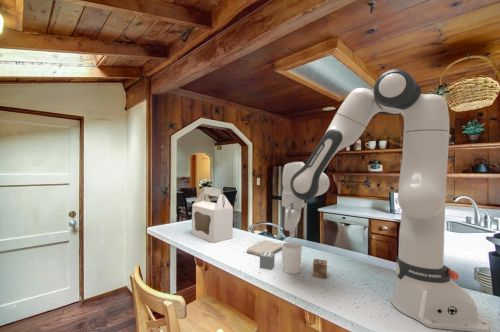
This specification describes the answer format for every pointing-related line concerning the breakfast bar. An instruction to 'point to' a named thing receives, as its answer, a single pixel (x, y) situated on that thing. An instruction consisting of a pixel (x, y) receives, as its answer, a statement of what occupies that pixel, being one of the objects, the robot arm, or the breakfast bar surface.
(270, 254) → the slate-grey block
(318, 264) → the walnut block
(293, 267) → the white cup
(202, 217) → the gable box
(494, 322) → the breakfast bar surface
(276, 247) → the washcloth
